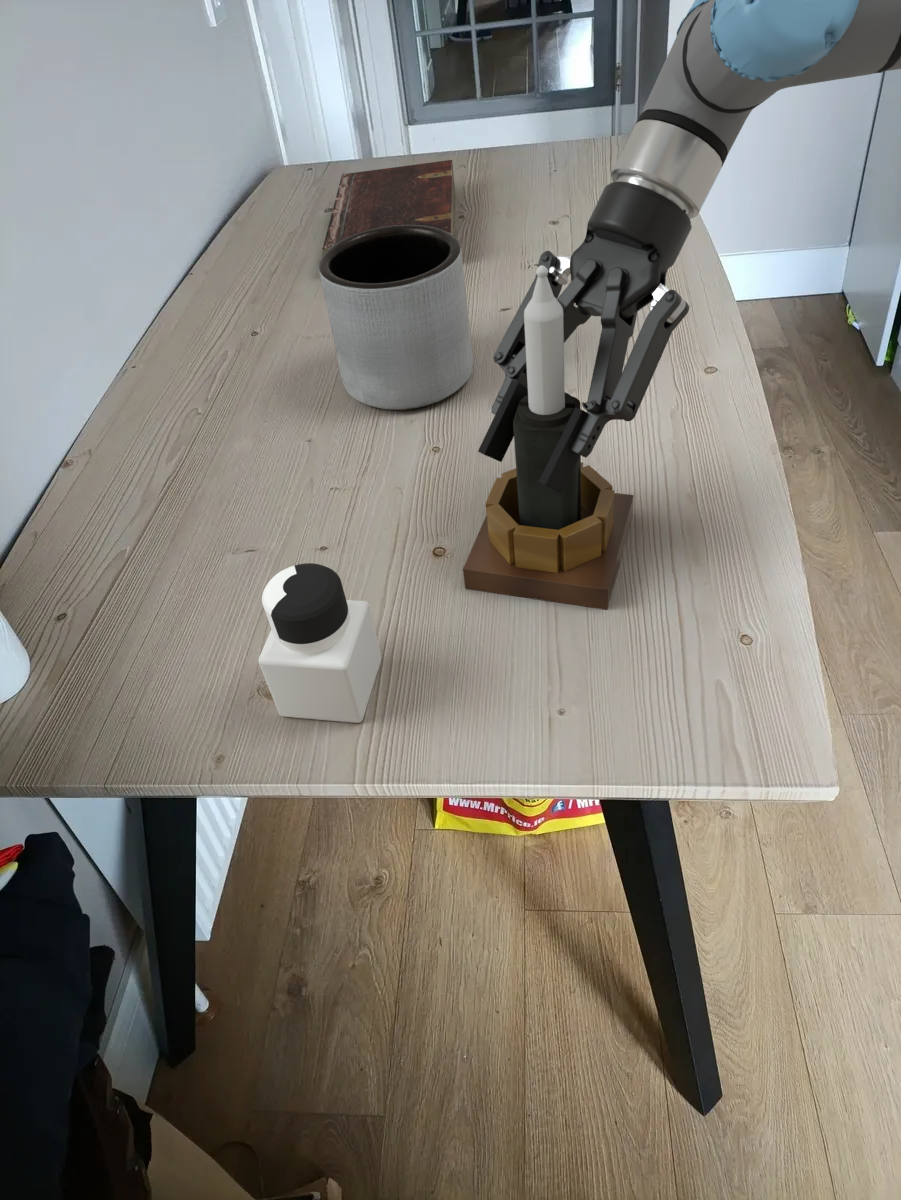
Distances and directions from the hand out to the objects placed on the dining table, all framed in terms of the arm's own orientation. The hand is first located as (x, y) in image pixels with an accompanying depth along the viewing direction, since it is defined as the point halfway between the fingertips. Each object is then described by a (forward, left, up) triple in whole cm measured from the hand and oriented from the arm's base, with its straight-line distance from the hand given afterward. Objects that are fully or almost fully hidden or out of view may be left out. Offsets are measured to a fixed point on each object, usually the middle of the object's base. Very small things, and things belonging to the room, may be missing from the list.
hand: (519, 471), depth 73 cm
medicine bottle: (+12, +17, -12) cm, 24 cm away
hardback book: (+39, -71, -12) cm, 82 cm away
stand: (-2, -3, -11) cm, 12 cm away
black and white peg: (-2, -3, -9) cm, 10 cm away
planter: (+22, -30, -12) cm, 39 cm away
